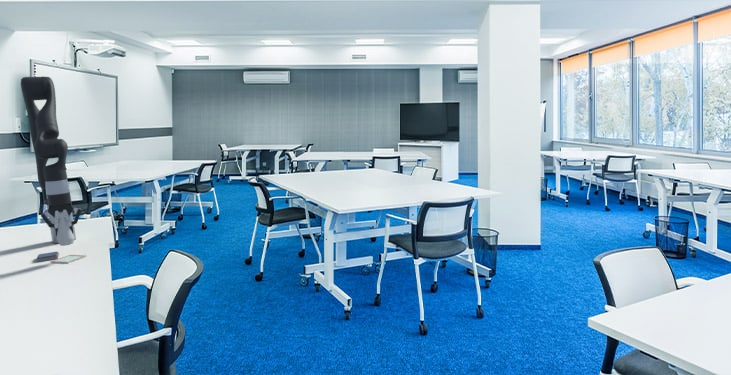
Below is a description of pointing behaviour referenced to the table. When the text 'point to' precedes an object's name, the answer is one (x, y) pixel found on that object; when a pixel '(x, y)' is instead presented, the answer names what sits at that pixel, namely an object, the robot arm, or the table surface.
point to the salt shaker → (64, 231)
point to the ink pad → (47, 256)
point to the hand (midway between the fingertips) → (65, 236)
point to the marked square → (68, 259)
